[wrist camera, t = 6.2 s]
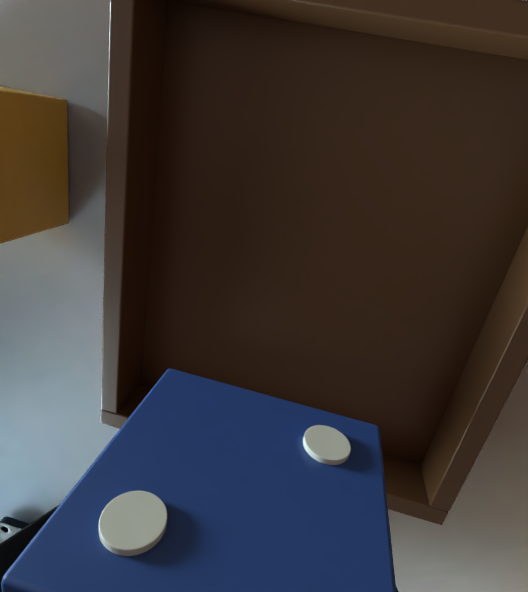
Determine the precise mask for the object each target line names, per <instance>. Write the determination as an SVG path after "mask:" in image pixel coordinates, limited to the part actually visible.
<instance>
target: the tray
mask: <svg viewBox="0 0 528 592" xmlns="http://www.w3.org/2000/svg"><path fill="white" fill-rule="evenodd" d="M527 360H528V1H523V0H110V27H109V71H108V116H107V161H106V205H105V250H104V295H103V339H102V384H101V423H103V424H106V425H110V426H113V427H116V428H121V427H122V426H123V425H124V423H125V422H126V421H127V420H128V418H129V417H130V416H131V415H132V413H133V412H134V411H135V409H136V408H137V407H138V406H139V404H140V403H141V402H142V401H143V399H144V398H145V397H146V396H147V394H148V393H149V392H150V391H151V389H152V388H153V387H154V386H155V384H156V383H157V382H158V381H159V379H160V378H161V377H162V375H163V374H164V373H165V372H166V370H167V369H175V370H178V371H182V372H186V373H189V374H193V375H196V376H200V377H204V378H207V379H211V380H215V381H218V382H222V383H225V384H229V385H233V386H236V387H240V388H244V389H247V390H251V391H254V392H258V393H262V394H265V395H269V396H273V397H276V398H280V399H283V400H287V401H291V402H294V403H298V404H302V405H305V406H309V407H312V408H316V409H320V410H323V411H327V412H331V413H334V414H338V415H341V416H345V417H349V418H352V419H356V420H360V421H363V422H367V423H370V424H374V425H377V426H379V428H380V436H381V446H382V456H383V466H384V476H385V486H386V496H387V506H388V509H390V510H393V511H397V512H400V513H403V514H407V515H410V516H413V517H417V518H420V519H423V520H427V521H430V522H433V523H437V524H440V525H442V524H443V522H444V520H445V518H446V516H447V514H448V511H449V510H450V509H451V507H452V505H453V503H454V501H455V499H456V497H457V495H458V493H459V491H460V489H461V487H462V485H463V483H464V481H465V480H466V478H467V476H468V474H469V472H470V470H471V468H472V466H473V464H474V462H475V460H476V458H477V456H478V454H479V452H480V450H481V449H482V447H483V445H484V443H485V441H486V439H487V437H488V435H489V433H490V431H491V429H492V427H493V425H494V423H495V421H496V420H497V418H498V416H499V414H500V412H501V410H502V408H503V406H504V404H505V402H506V400H507V398H508V396H509V394H510V392H511V391H512V389H513V387H514V385H515V383H516V381H517V379H518V377H519V375H520V373H521V371H522V369H523V367H524V365H525V363H526V361H527Z"/></svg>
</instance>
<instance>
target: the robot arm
mask: <svg viewBox="0 0 528 592" xmlns="http://www.w3.org/2000/svg"><path fill="white" fill-rule="evenodd" d="M58 506H59V505H58ZM58 506H57V507H55V508H54V509H52V510H51V511H49V512H48V513H46V514H44V515H43V516H41V517H40V518H38V519H37V520H35V521H34V522H32V523H31V524H28V523H25V522H22V521H19V520H16V519H13V518H10V517H4V518H3V519H2V520H1V521H0V592H2V588H1V581H2V578H3V576H4V574H5V573H6V572H7V571H8V569H9V568H10V567H11V566H12V564H13V563H14V562H15V561H16V559H17V558H18V557H19V556H20V554H21V553H22V552H23V550H24V549H25V548H26V547H27V545H28V544H29V543H30V542H31V540H32V539H33V538H34V537H35V535H36V534H37V533H38V532H39V530H40V529H41V528H42V527H43V525H44V524H45V523H46V522H47V520H48V519H49V518H50V516H51V515H52V514H53V513H54V511H55V510H56V509H57V508H58ZM396 592H398V590H397V587H396Z"/></svg>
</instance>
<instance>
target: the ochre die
mask: <svg viewBox="0 0 528 592" xmlns="http://www.w3.org/2000/svg"><path fill="white" fill-rule="evenodd" d="M67 223H69V197H68V124H67V100H65V99H62V98H57V97H52V96H47V95H42V94H37V93H32V92H27V91H22V90H17V89H12V88H7V87H2V86H0V244H1V243H4V242H7V241H11V240H14V239H17V238H21V237H24V236H27V235H31V234H34V233H37V232H41V231H44V230H47V229H51V228H54V227H57V226H61V225H64V224H67Z"/></svg>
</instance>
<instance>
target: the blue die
mask: <svg viewBox="0 0 528 592" xmlns="http://www.w3.org/2000/svg"><path fill="white" fill-rule="evenodd" d="M1 588H2V592H396V585H395V575H394V565H393V555H392V545H391V535H390V525H389V516H388V506H387V496H386V486H385V476H384V466H383V456H382V446H381V436H380V428H379V426H377V425H374V424H370V423H367V422H363V421H360V420H356V419H352V418H349V417H345V416H341V415H338V414H334V413H331V412H327V411H323V410H320V409H316V408H312V407H309V406H305V405H302V404H298V403H294V402H291V401H287V400H283V399H280V398H276V397H273V396H269V395H265V394H262V393H258V392H254V391H251V390H247V389H244V388H240V387H236V386H233V385H229V384H225V383H222V382H218V381H215V380H211V379H207V378H204V377H200V376H196V375H193V374H189V373H186V372H182V371H178V370H175V369H167V370H166V372H165V373H164V374H163V375H162V377H161V378H160V379H159V381H158V382H157V383H156V384H155V386H154V387H153V388H152V389H151V391H150V392H149V393H148V394H147V396H146V397H145V398H144V399H143V401H142V402H141V403H140V404H139V406H138V407H137V408H136V409H135V411H134V412H133V413H132V415H131V416H130V417H129V418H128V420H127V421H126V422H125V423H124V425H123V426H122V427H121V428H120V430H119V431H118V432H117V433H116V435H115V436H114V437H113V438H112V440H111V441H110V442H109V443H108V445H107V446H106V447H105V448H104V450H103V451H102V452H101V454H100V455H99V456H98V457H97V459H96V460H95V461H94V462H93V464H92V465H91V466H90V467H89V469H88V470H87V471H86V472H85V474H84V475H83V476H82V477H81V479H80V480H79V481H78V482H77V484H76V485H75V486H74V488H73V489H72V490H71V491H70V493H69V494H68V495H67V496H66V498H65V499H64V500H63V501H62V503H61V504H60V505H59V506H58V508H57V509H56V510H55V511H54V513H53V514H52V515H51V516H50V518H49V519H48V520H47V522H46V523H45V524H44V525H43V527H42V528H41V529H40V530H39V532H38V533H37V534H36V535H35V537H34V538H33V539H32V540H31V542H30V543H29V544H28V545H27V547H26V548H25V549H24V550H23V552H22V553H21V554H20V556H19V557H18V558H17V559H16V561H15V562H14V563H13V564H12V566H11V567H10V568H9V569H8V571H7V572H6V573H5V574H4V576H3V578H2V581H1Z"/></svg>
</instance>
